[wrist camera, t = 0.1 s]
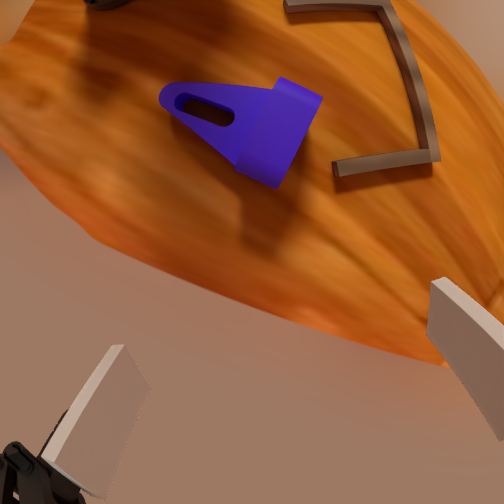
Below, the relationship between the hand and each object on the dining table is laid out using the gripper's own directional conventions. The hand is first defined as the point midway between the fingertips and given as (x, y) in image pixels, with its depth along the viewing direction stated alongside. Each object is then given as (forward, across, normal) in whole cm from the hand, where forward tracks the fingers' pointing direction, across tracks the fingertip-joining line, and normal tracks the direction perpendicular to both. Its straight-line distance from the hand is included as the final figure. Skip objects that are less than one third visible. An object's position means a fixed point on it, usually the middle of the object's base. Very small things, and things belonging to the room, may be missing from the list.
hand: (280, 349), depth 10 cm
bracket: (+29, -2, +14) cm, 32 cm away
